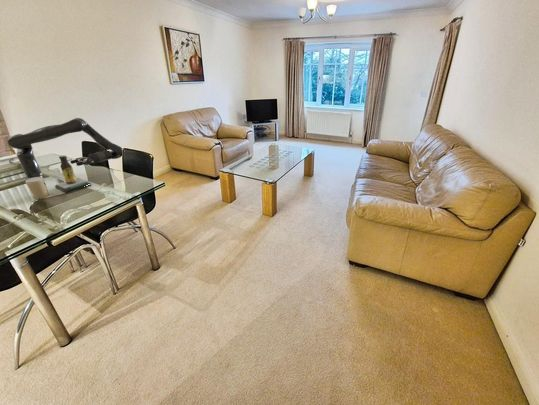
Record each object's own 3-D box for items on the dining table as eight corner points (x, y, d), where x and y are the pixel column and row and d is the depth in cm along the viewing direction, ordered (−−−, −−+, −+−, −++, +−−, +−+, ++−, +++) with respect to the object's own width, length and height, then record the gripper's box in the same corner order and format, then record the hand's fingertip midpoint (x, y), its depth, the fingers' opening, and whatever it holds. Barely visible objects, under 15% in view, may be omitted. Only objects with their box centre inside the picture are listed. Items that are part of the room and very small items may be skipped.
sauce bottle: (71, 184, 178) (61, 157, 169) (64, 184, 179) (53, 157, 170) (79, 181, 184) (69, 155, 174) (72, 180, 185) (62, 154, 176)
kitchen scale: (55, 188, 179) (54, 184, 178) (80, 181, 192) (78, 177, 190) (66, 193, 172) (65, 189, 171) (91, 185, 185) (90, 181, 183)
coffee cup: (53, 194, 171) (46, 177, 166) (38, 199, 164) (30, 182, 158) (44, 191, 174) (37, 175, 168) (29, 197, 166) (21, 180, 161)
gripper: (90, 151, 193) (67, 156, 181) (100, 154, 187) (76, 160, 174) (93, 160, 197) (70, 166, 184) (103, 164, 190) (80, 170, 178)
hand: (73, 163), depth 179 cm, fingers open, 8 cm apart
